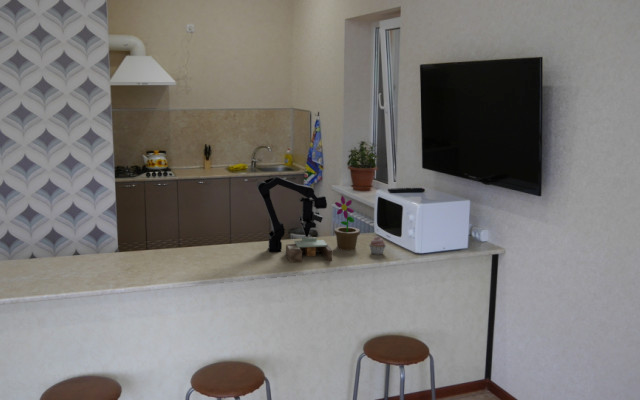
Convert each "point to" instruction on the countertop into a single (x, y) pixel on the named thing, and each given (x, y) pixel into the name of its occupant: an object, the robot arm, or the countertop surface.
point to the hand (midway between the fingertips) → (306, 236)
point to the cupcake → (377, 246)
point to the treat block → (310, 251)
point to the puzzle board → (296, 252)
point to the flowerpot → (346, 228)
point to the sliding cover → (310, 242)
